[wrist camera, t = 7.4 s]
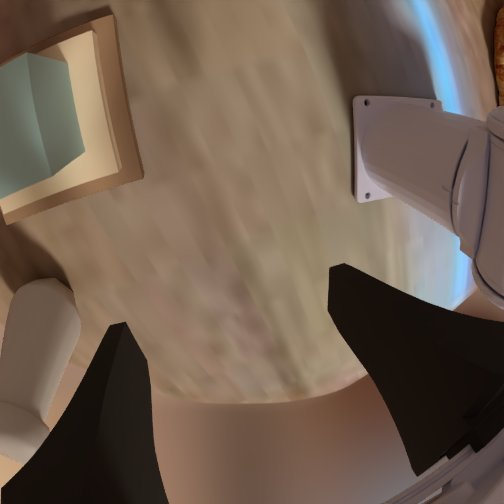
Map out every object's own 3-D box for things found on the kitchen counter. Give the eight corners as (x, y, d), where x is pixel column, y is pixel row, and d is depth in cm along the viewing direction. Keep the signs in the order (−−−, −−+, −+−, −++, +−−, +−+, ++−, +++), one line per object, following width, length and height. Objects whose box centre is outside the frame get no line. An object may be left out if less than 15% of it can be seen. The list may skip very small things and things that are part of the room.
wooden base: (116, 19, 11) (109, 8, 9) (144, 173, 17) (141, 184, 15) (-21, 83, 10) (-40, 84, 8) (13, 218, 15) (-1, 233, 13)
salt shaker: (11, 269, 16) (-57, 414, 6) (73, 262, 18) (22, 433, 7) (37, 328, 19) (4, 467, 8) (95, 324, 21) (81, 480, 10)
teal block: (67, 63, 10) (26, 52, 6) (85, 151, 13) (52, 176, 9) (-7, 100, 9) (-60, 110, 5) (12, 181, 12) (-33, 216, 8)
